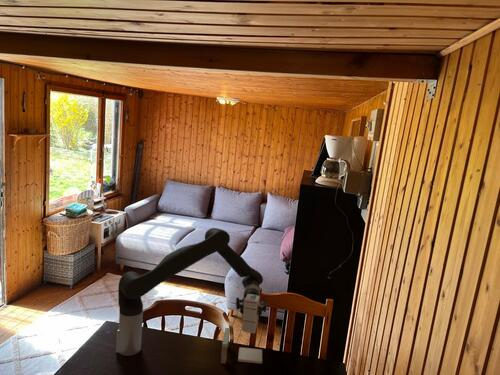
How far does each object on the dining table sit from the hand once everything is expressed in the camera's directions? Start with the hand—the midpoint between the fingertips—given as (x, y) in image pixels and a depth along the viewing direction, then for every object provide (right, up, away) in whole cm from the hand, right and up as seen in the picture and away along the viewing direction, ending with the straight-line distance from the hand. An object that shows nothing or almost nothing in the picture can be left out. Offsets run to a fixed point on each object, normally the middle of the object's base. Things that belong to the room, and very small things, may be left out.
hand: (251, 313), depth 148 cm
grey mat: (0, -20, +5) cm, 21 cm away
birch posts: (-11, -19, +5) cm, 23 cm away
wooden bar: (-11, -13, +4) cm, 17 cm away
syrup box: (-1, -8, +4) cm, 9 cm away
